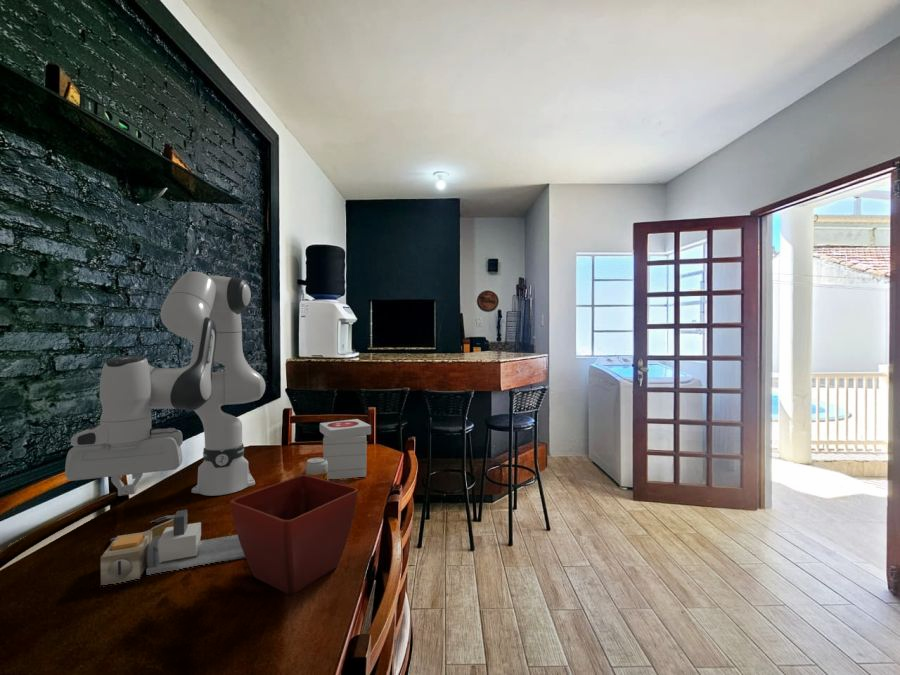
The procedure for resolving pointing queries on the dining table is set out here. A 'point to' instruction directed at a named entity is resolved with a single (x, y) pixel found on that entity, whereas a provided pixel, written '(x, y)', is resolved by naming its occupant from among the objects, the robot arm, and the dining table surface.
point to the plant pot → (294, 530)
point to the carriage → (179, 539)
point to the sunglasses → (158, 527)
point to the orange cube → (127, 542)
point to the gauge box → (125, 561)
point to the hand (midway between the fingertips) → (127, 494)
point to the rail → (207, 554)
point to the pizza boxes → (345, 447)
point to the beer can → (317, 468)
